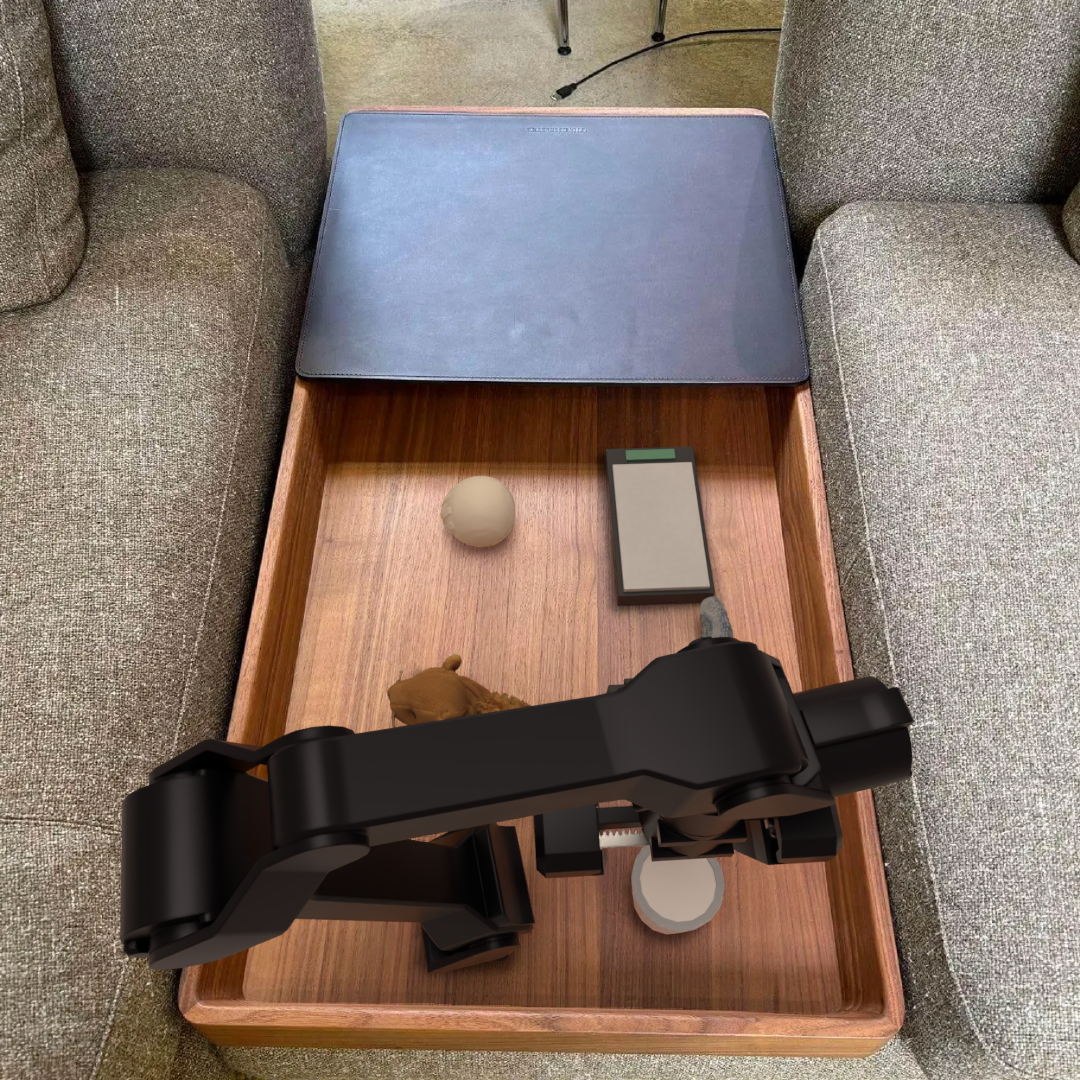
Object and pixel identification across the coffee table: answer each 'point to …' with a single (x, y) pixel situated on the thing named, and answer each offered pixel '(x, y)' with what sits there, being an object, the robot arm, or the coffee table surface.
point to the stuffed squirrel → (444, 696)
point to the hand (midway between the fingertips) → (667, 844)
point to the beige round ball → (479, 511)
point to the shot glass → (676, 892)
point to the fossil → (714, 619)
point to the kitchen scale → (657, 526)
